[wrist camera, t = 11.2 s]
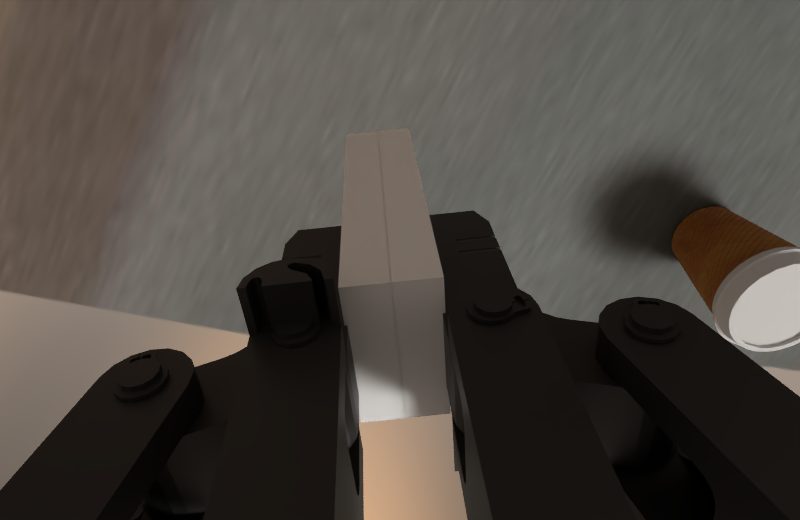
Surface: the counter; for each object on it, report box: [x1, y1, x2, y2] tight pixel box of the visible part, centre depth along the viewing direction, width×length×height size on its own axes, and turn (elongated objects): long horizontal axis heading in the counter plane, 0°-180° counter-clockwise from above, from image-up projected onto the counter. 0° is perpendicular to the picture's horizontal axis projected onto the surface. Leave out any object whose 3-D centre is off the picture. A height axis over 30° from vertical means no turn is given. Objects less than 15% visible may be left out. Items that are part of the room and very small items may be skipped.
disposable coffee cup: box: [671, 207, 800, 352], centre depth 49 cm, size 10×10×12 cm
